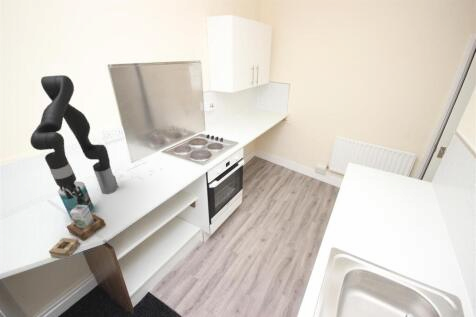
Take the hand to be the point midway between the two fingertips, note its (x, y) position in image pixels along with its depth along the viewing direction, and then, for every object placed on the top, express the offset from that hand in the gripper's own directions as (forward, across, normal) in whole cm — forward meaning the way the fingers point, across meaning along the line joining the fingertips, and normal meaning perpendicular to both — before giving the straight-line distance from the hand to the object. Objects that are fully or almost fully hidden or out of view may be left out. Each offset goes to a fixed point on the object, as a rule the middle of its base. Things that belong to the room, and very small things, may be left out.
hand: (75, 200), depth 106 cm
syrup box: (+19, 0, 0) cm, 19 cm away
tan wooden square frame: (+19, -4, +13) cm, 23 cm away
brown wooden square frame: (+19, 0, 0) cm, 19 cm away
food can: (+20, +15, -6) cm, 26 cm away
